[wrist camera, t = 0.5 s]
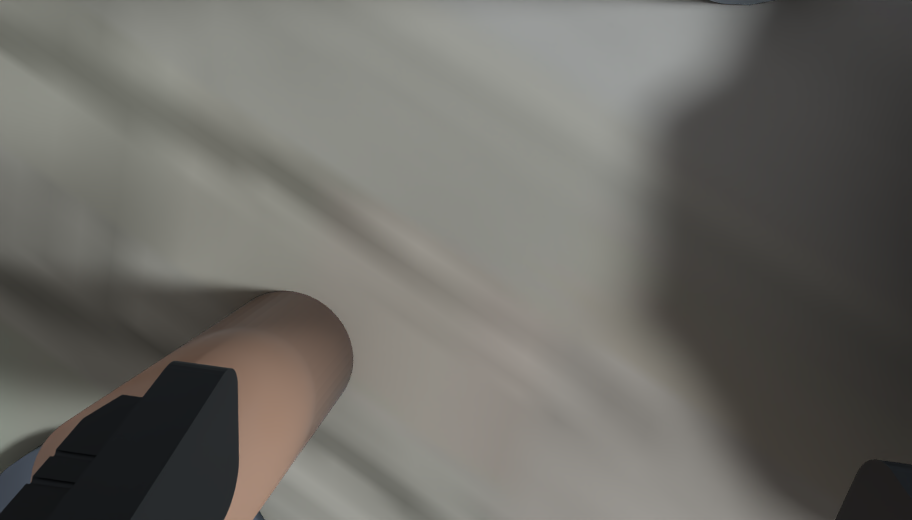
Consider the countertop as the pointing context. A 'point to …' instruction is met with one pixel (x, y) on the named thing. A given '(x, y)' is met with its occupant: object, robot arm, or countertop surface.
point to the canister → (260, 385)
